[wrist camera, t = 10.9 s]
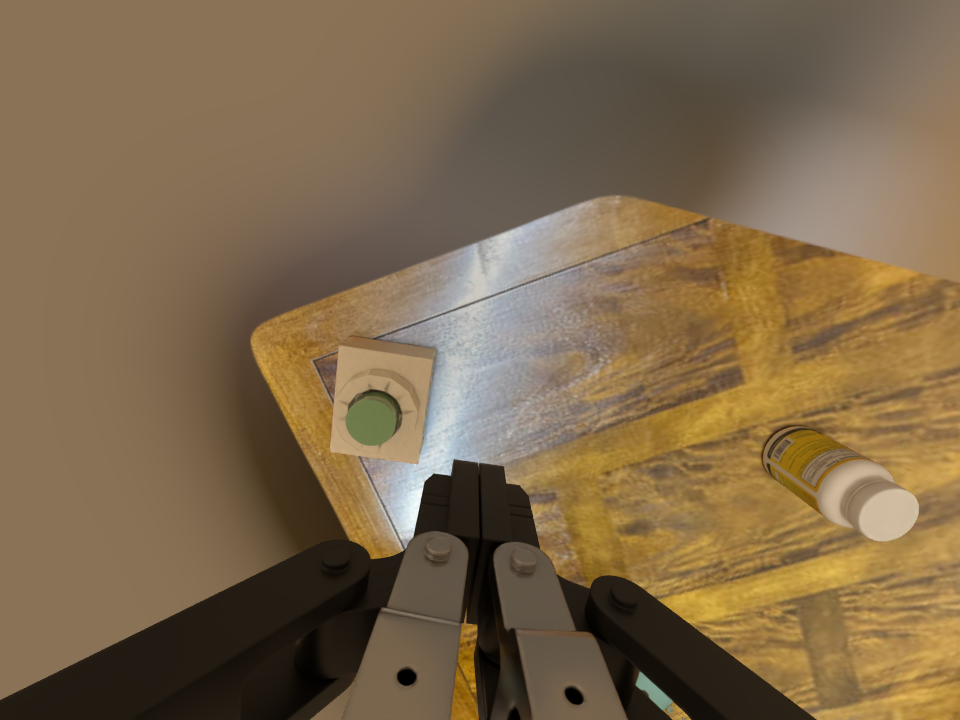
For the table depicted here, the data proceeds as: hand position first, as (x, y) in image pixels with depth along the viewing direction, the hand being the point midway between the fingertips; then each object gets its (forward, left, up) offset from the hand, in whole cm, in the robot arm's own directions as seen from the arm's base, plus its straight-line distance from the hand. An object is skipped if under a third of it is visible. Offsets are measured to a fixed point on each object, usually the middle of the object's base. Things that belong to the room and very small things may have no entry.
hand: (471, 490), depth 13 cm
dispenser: (+8, -7, -29) cm, 31 cm away
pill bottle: (+8, +34, -29) cm, 46 cm away
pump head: (+8, -7, -23) cm, 26 cm away
